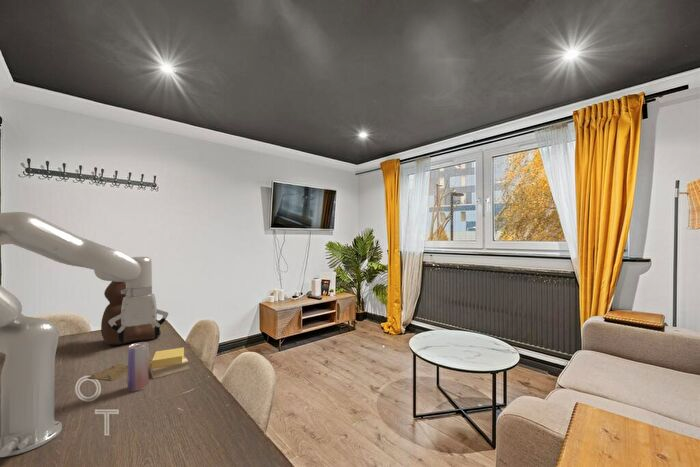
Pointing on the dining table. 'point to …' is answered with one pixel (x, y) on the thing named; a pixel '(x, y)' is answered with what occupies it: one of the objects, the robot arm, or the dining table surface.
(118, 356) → the dining table surface
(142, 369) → the beverage can
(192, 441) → the dining table surface
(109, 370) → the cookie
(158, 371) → the tower base
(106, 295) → the stuffed bear
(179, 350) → the tower top
